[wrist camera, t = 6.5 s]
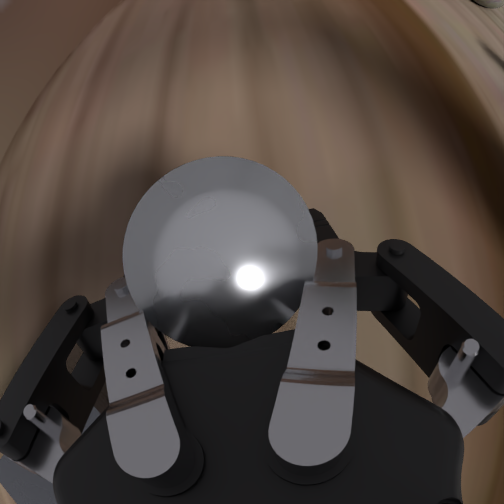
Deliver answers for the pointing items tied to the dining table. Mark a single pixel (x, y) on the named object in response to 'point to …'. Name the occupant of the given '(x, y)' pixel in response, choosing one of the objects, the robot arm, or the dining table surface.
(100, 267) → the dining table surface
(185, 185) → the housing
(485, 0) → the fruit
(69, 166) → the dining table surface
